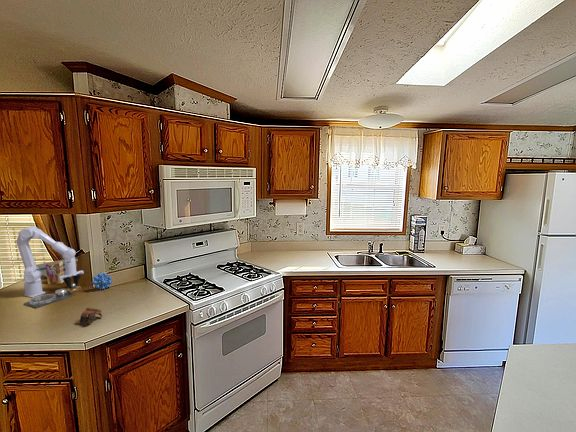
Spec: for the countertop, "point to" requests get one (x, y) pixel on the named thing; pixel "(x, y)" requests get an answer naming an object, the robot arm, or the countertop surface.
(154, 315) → the countertop surface
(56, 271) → the candy box
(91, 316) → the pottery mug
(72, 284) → the planet gear
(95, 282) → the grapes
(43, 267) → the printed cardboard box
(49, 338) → the countertop surface
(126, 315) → the countertop surface
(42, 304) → the gear carrier
